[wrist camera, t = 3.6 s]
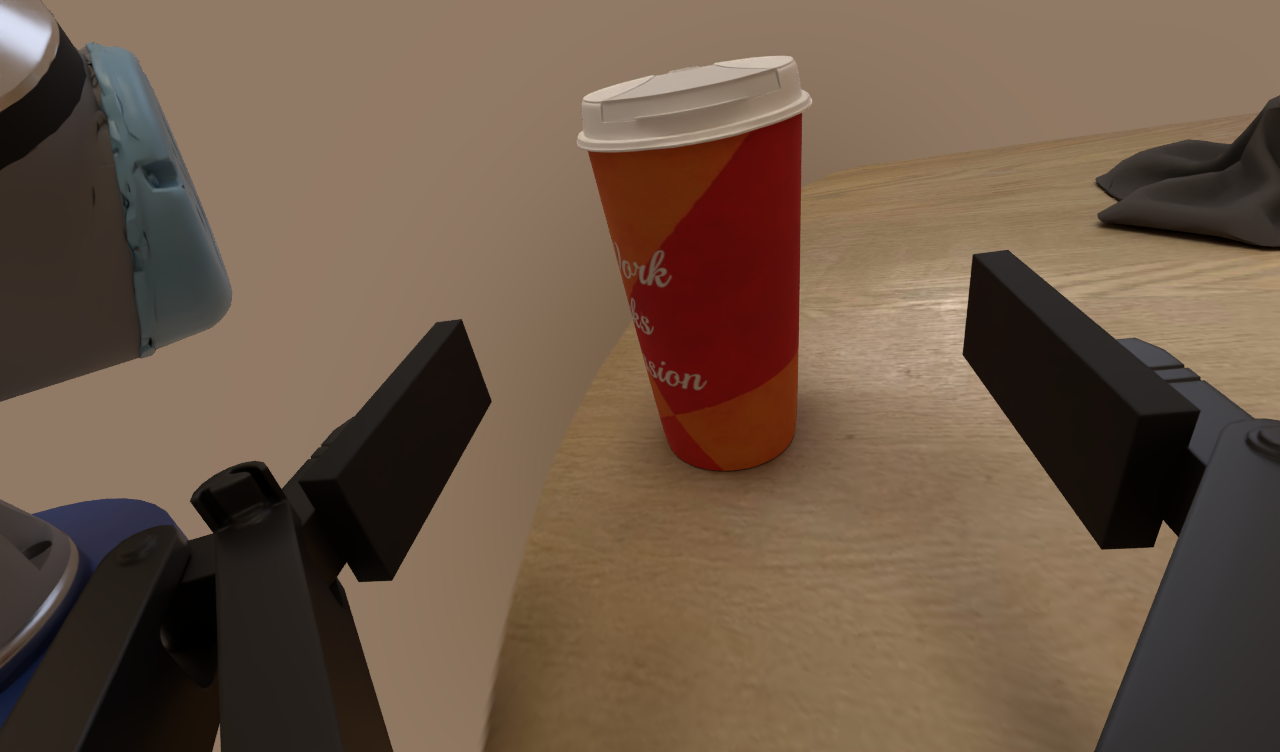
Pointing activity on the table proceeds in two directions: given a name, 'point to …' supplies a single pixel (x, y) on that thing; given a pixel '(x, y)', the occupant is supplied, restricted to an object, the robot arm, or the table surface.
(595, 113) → the coffee cup
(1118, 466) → the robot arm
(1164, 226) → the cloth
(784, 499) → the table surface
